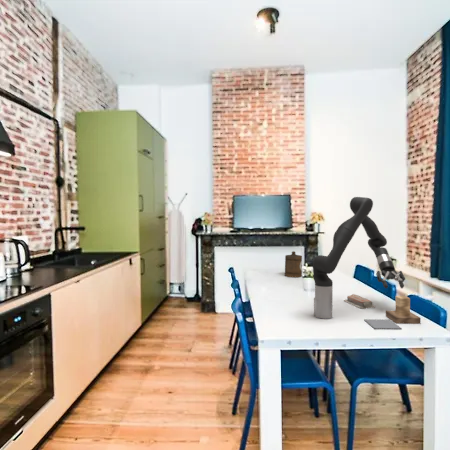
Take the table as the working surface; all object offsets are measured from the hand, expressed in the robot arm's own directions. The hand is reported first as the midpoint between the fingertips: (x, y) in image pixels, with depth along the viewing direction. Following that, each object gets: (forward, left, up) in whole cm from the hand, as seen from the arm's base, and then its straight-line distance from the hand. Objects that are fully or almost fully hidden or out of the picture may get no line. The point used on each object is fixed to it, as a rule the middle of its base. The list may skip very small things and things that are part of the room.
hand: (394, 287), depth 182 cm
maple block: (0, -9, -12) cm, 15 cm away
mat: (-14, -17, -15) cm, 27 cm away
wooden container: (-37, +110, -15) cm, 117 cm away
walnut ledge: (0, -9, -15) cm, 18 cm away
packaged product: (-12, +20, -16) cm, 28 cm away
